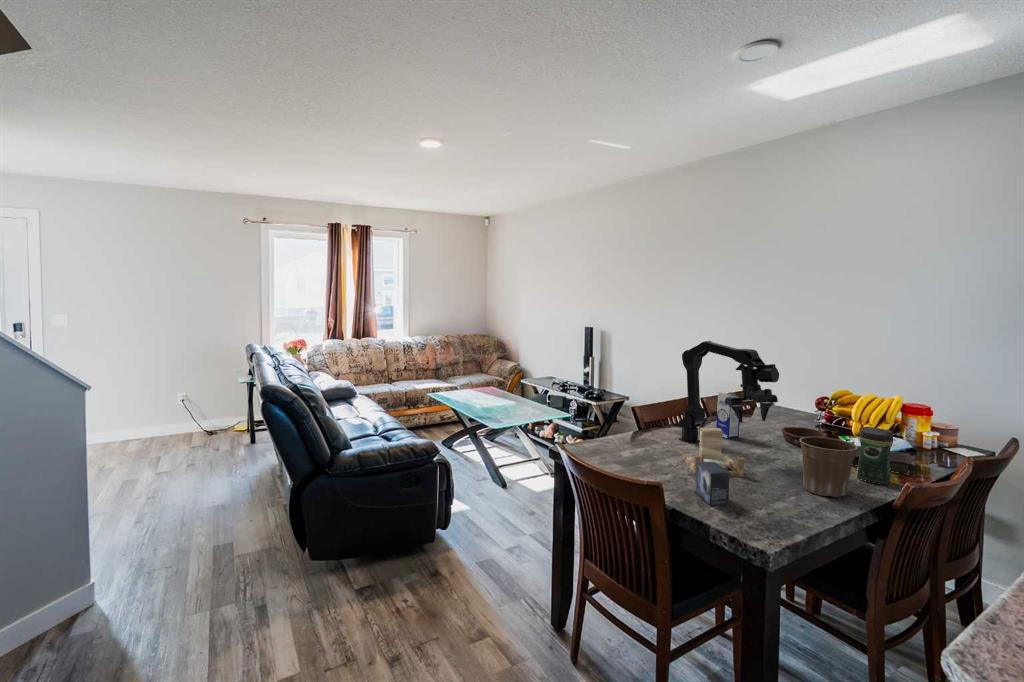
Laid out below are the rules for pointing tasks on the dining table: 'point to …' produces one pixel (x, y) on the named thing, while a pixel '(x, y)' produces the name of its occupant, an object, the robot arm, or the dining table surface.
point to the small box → (712, 483)
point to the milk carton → (727, 417)
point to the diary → (891, 460)
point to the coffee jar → (875, 455)
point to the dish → (799, 434)
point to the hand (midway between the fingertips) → (752, 421)
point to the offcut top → (720, 462)
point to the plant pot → (826, 465)
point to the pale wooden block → (710, 443)
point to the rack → (737, 469)
